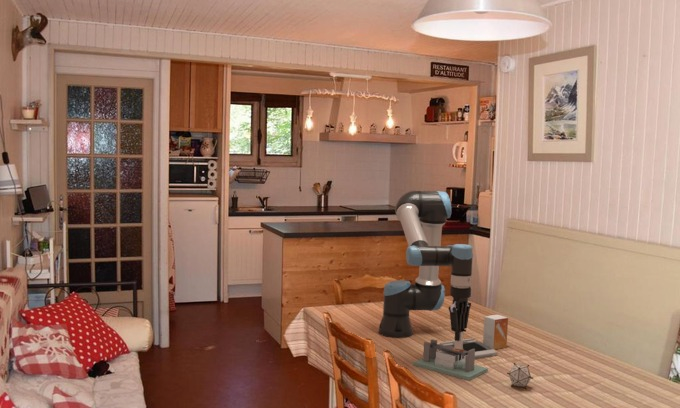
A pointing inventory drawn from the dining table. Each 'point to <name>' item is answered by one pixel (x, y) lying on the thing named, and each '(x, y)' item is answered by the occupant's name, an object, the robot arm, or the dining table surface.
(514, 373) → the game die
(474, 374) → the base board
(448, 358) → the heatsink
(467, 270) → the robot arm
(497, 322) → the small box
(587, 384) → the dining table surface
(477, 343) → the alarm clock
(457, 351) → the dark grey bar
